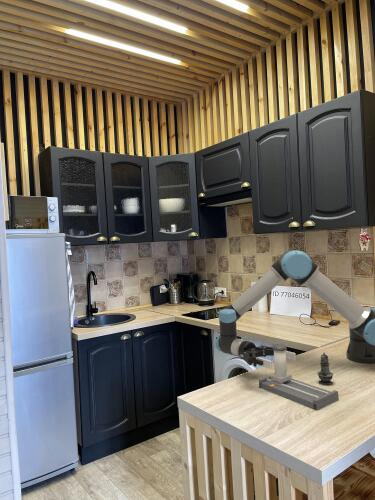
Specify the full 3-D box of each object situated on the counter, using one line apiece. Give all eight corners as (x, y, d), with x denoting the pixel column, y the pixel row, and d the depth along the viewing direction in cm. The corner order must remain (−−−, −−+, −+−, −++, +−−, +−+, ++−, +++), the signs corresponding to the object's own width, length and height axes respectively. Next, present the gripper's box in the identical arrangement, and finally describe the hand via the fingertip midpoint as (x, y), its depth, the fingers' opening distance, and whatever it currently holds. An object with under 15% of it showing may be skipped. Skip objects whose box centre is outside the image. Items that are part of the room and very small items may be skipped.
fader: (281, 375, 141) (279, 343, 141) (291, 379, 137) (290, 346, 137) (270, 379, 138) (268, 346, 138) (281, 383, 134) (279, 349, 134)
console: (280, 379, 146) (279, 372, 146) (338, 399, 124) (338, 391, 124) (258, 387, 139) (258, 379, 139) (316, 410, 118) (316, 401, 118)
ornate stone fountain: (329, 379, 143) (328, 349, 143) (336, 385, 137) (334, 353, 137) (315, 380, 143) (313, 350, 143) (321, 386, 137) (319, 354, 137)
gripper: (265, 352, 161) (304, 363, 143) (221, 364, 146) (260, 379, 129) (264, 335, 160) (303, 344, 143) (220, 346, 146) (259, 358, 129)
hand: (283, 360), depth 136 cm, fingers open, 13 cm apart
